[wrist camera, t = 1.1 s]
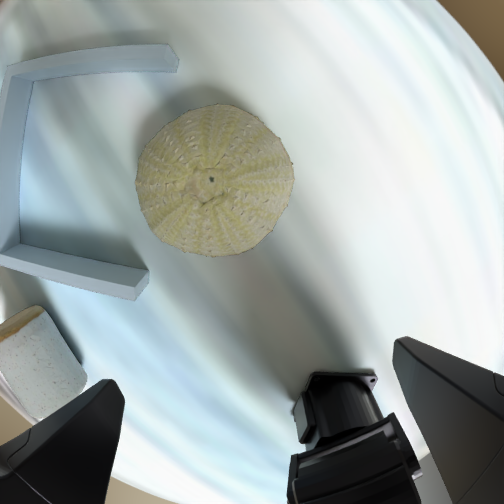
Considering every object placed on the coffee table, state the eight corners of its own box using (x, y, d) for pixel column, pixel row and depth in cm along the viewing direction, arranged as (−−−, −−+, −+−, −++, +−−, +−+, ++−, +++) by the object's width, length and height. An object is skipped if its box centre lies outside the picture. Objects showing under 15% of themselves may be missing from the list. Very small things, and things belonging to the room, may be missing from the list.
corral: (179, 59, 16) (167, 44, 13) (148, 283, 21) (134, 301, 18) (28, 71, 15) (7, 65, 12) (14, 252, 20) (-7, 263, 17)
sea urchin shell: (114, 131, 16) (178, 83, 10) (211, 120, 21) (295, 92, 15) (144, 269, 18) (220, 294, 13) (232, 234, 24) (318, 240, 18)
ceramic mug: (53, 291, 21) (0, 335, 14) (100, 366, 23) (65, 422, 16) (2, 316, 22) (-40, 352, 15) (41, 377, 25) (8, 420, 17)
